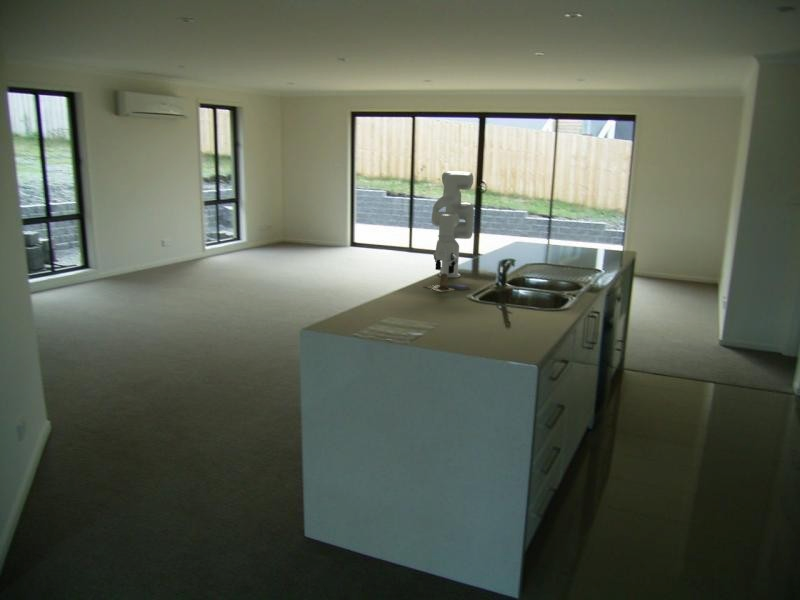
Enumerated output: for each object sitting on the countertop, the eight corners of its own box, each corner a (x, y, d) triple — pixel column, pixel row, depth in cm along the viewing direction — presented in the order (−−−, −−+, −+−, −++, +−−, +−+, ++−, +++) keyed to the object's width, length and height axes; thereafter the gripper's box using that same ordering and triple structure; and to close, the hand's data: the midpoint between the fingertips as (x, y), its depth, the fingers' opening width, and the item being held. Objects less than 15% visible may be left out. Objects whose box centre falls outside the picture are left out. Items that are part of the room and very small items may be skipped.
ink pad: (448, 287, 335) (448, 284, 334) (457, 286, 339) (457, 283, 339) (460, 290, 328) (460, 287, 328) (469, 289, 333) (470, 286, 332)
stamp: (437, 288, 329) (438, 273, 327) (443, 288, 331) (444, 272, 329) (443, 290, 326) (444, 274, 324) (448, 289, 328) (449, 273, 326)
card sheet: (422, 287, 333) (422, 286, 333) (436, 285, 339) (436, 284, 339) (441, 291, 323) (441, 291, 323) (455, 289, 329) (455, 289, 329)
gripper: (429, 236, 327) (427, 269, 331) (452, 241, 314) (450, 275, 319) (439, 235, 332) (438, 267, 336) (463, 240, 319) (461, 273, 323)
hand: (444, 271), depth 327 cm, fingers open, 9 cm apart
